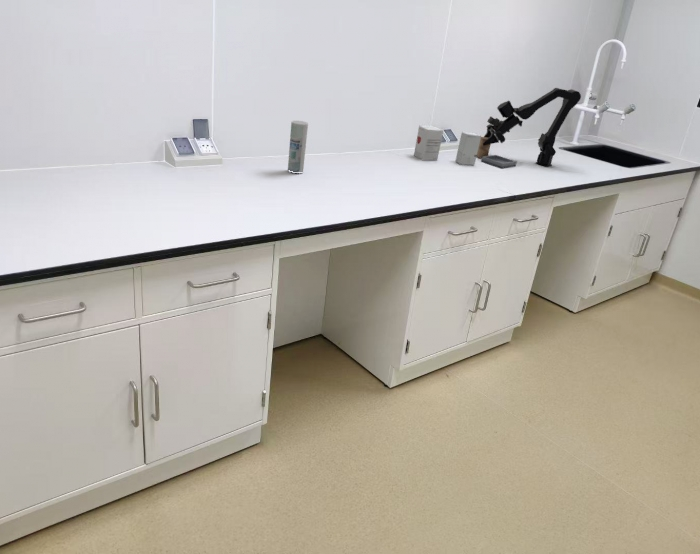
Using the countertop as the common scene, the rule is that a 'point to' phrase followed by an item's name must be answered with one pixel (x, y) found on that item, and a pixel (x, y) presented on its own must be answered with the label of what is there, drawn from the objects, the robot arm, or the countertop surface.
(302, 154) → the spray can
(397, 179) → the countertop surface
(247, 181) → the countertop surface
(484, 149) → the walnut block
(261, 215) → the countertop surface
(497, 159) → the grey tray
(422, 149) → the supplement box
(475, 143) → the skincare box
